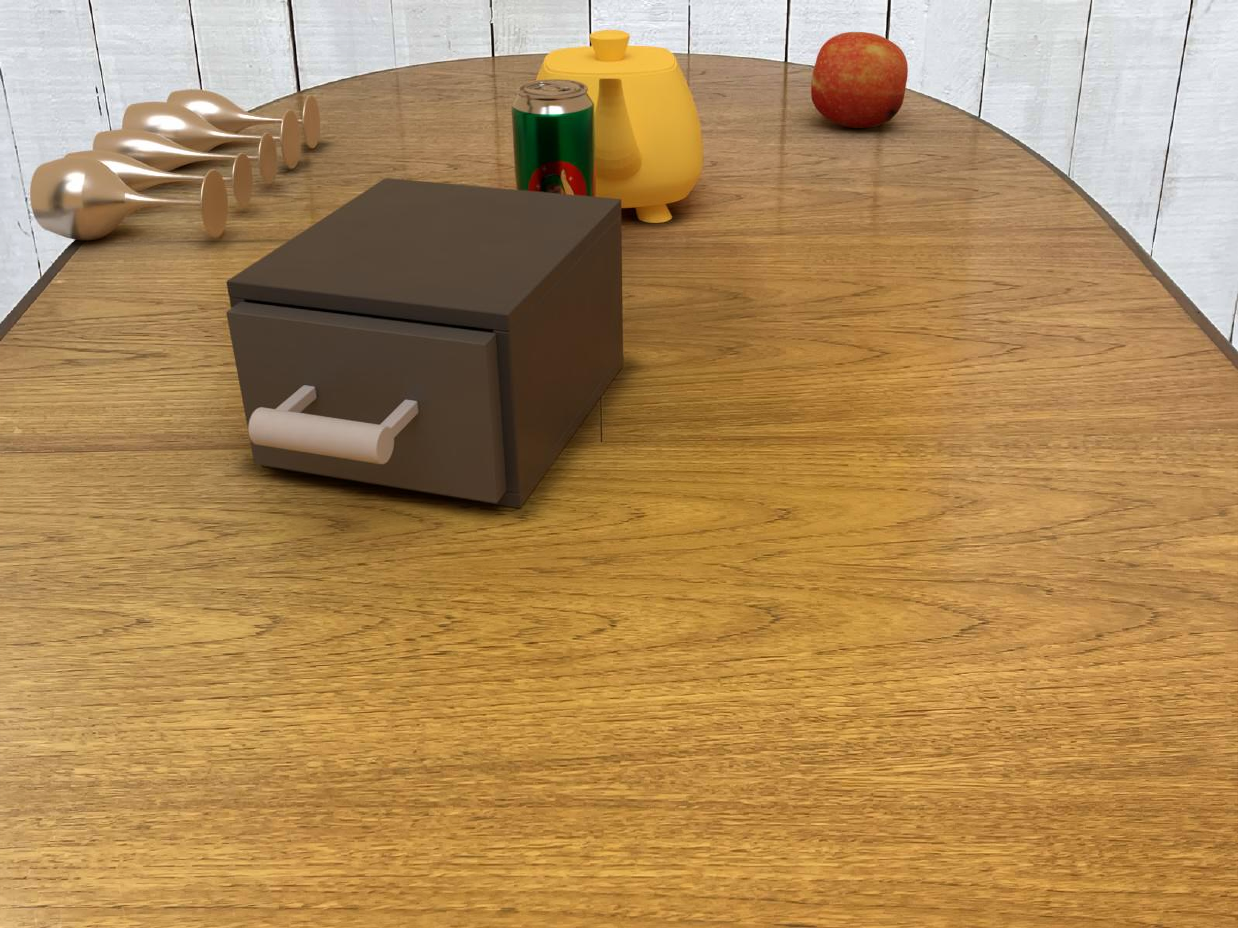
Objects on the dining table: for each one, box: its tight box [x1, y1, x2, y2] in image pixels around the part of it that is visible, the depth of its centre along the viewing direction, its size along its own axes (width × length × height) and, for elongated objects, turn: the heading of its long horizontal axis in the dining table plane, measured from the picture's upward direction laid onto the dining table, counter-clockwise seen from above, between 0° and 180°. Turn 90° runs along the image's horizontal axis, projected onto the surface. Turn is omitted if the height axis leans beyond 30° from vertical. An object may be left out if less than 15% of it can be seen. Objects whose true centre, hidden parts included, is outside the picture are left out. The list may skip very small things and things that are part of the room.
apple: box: [810, 31, 909, 129], centre depth 109 cm, size 8×8×8 cm
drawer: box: [225, 302, 507, 503], centre depth 60 cm, size 19×12×8 cm, turn 162°
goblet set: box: [29, 88, 321, 241], centre depth 97 cm, size 28×6×13 cm
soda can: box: [511, 79, 596, 197], centre depth 79 cm, size 5×5×12 cm
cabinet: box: [226, 177, 624, 509], centre depth 63 cm, size 16×14×10 cm
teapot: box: [535, 29, 704, 224], centre depth 90 cm, size 13×20×12 cm
